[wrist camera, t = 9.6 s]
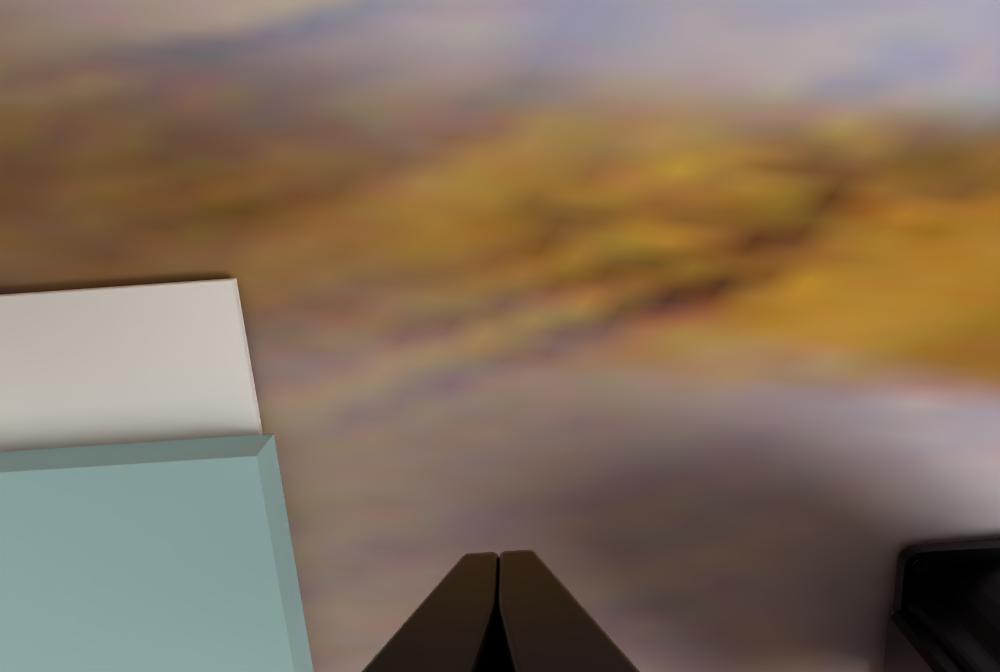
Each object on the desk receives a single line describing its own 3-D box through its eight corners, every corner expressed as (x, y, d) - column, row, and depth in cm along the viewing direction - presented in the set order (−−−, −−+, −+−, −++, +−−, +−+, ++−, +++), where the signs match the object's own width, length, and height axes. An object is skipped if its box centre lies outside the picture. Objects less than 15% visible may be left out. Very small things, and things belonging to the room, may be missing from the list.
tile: (256, 455, 19) (-182, 484, 19) (304, 730, 22) (-86, 752, 22) (275, 430, 21) (-129, 457, 21) (318, 688, 23) (-45, 709, 23)
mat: (236, 278, 20) (232, 280, 20) (324, 791, 25) (322, 799, 24) (-255, 312, 20) (-266, 315, 20) (-75, 813, 25) (-81, 821, 25)
